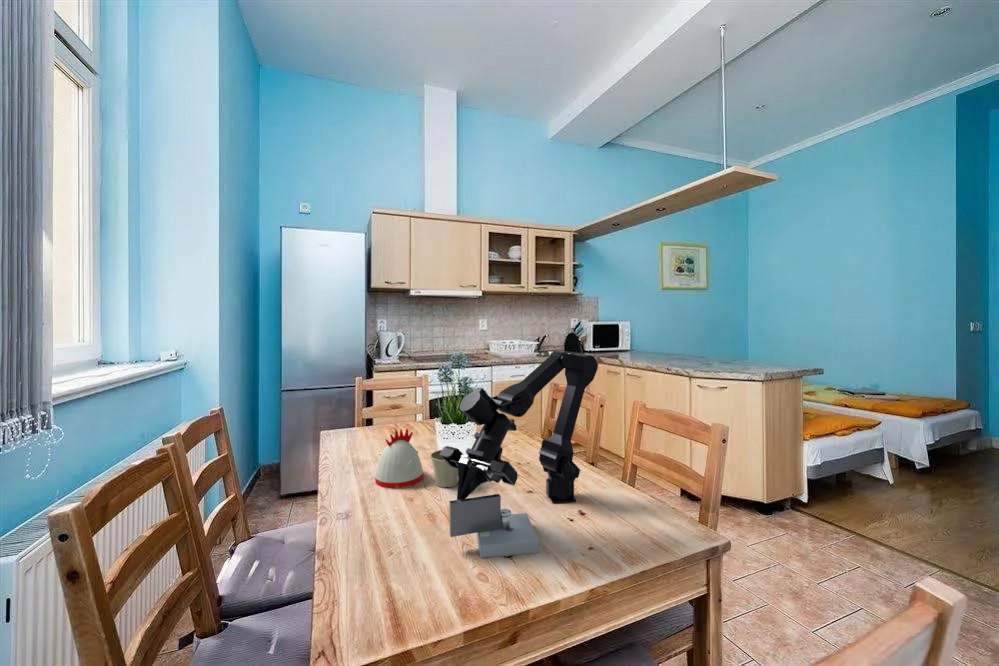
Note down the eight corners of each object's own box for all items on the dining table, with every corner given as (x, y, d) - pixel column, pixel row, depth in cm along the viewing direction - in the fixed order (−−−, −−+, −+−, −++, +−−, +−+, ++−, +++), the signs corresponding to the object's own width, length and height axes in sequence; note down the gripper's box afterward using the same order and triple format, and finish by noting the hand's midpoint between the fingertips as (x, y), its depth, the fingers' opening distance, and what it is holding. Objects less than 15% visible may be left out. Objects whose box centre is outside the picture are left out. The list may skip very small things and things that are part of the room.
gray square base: (526, 523, 94) (526, 512, 94) (538, 552, 82) (538, 539, 82) (475, 527, 93) (475, 516, 93) (480, 558, 81) (480, 544, 81)
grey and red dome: (430, 481, 119) (429, 431, 119) (383, 492, 112) (382, 438, 111) (412, 467, 131) (412, 421, 130) (369, 476, 123) (368, 427, 123)
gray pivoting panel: (508, 522, 89) (508, 491, 89) (512, 528, 87) (512, 495, 86) (449, 532, 85) (448, 499, 85) (451, 539, 82) (451, 505, 82)
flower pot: (457, 491, 112) (457, 461, 112) (425, 489, 114) (424, 458, 113) (466, 478, 121) (466, 450, 121) (437, 476, 123) (436, 448, 123)
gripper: (538, 462, 93) (511, 530, 84) (476, 447, 104) (446, 505, 96) (519, 436, 86) (487, 507, 78) (455, 423, 97) (420, 483, 89)
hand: (459, 501), depth 85 cm, fingers closed
